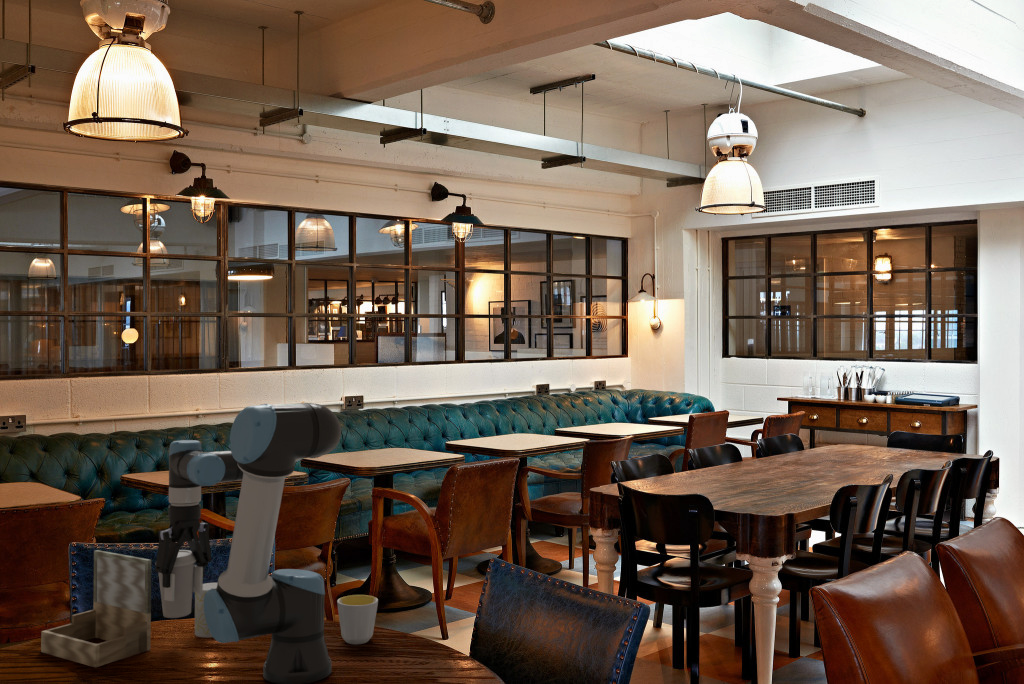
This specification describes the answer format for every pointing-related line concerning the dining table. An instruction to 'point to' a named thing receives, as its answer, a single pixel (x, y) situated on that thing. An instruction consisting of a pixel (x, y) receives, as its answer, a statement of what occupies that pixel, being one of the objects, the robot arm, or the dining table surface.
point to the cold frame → (108, 614)
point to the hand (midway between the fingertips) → (183, 596)
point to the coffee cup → (180, 586)
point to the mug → (357, 617)
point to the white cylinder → (202, 612)
